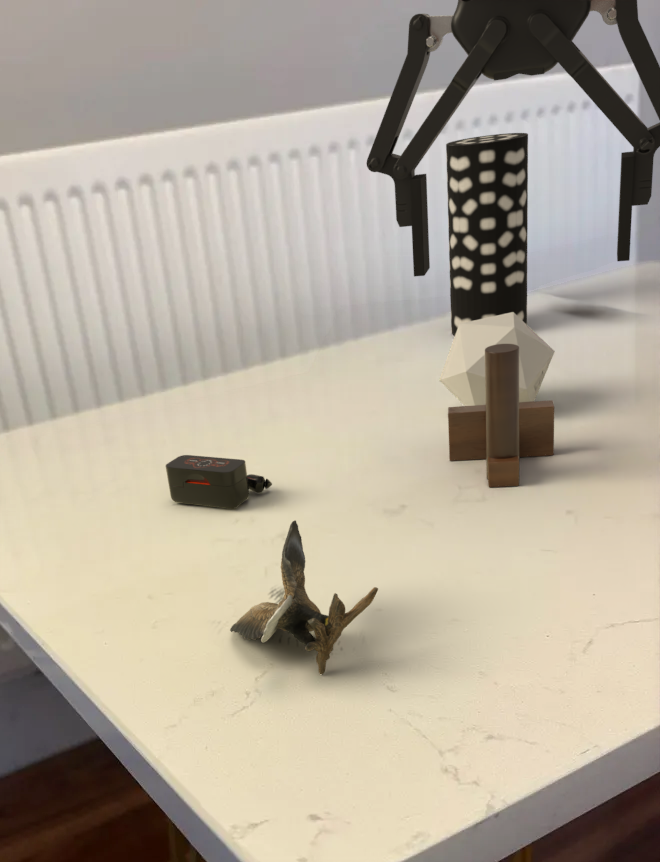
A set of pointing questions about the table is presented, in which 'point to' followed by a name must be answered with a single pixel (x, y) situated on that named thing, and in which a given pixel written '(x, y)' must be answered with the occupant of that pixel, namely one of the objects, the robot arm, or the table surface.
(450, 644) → the table surface
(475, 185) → the spotted tube
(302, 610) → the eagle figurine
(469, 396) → the die
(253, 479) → the wireless earbuds
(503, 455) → the wooden block stack
